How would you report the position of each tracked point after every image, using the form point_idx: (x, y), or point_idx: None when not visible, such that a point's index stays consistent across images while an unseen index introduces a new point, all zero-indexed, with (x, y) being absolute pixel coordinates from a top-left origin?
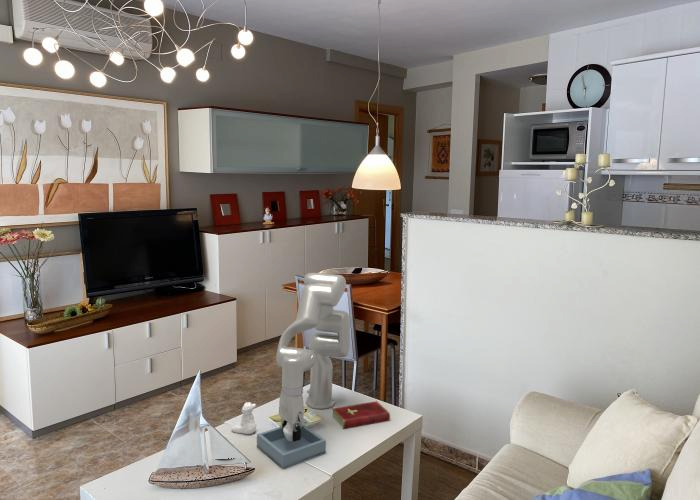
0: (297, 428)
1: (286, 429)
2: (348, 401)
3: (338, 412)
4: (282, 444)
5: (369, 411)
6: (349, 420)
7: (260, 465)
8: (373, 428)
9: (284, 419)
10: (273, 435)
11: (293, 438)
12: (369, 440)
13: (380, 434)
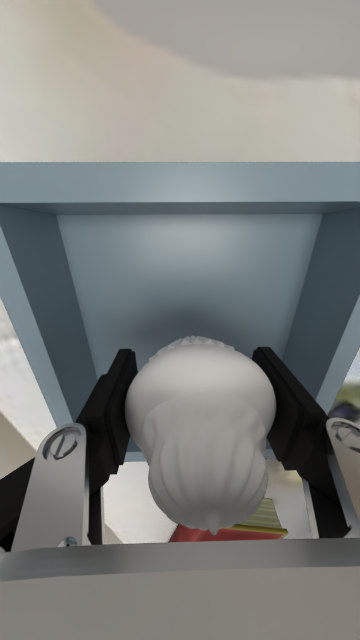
0: (14, 490)
1: (192, 385)
2: (297, 538)
3: (254, 533)
4: (238, 315)
5: None
6: (195, 530)
7: (140, 72)
8: (156, 523)
9: (281, 577)
10: (322, 307)
11: (112, 363)
12: (109, 501)
13: (123, 521)
